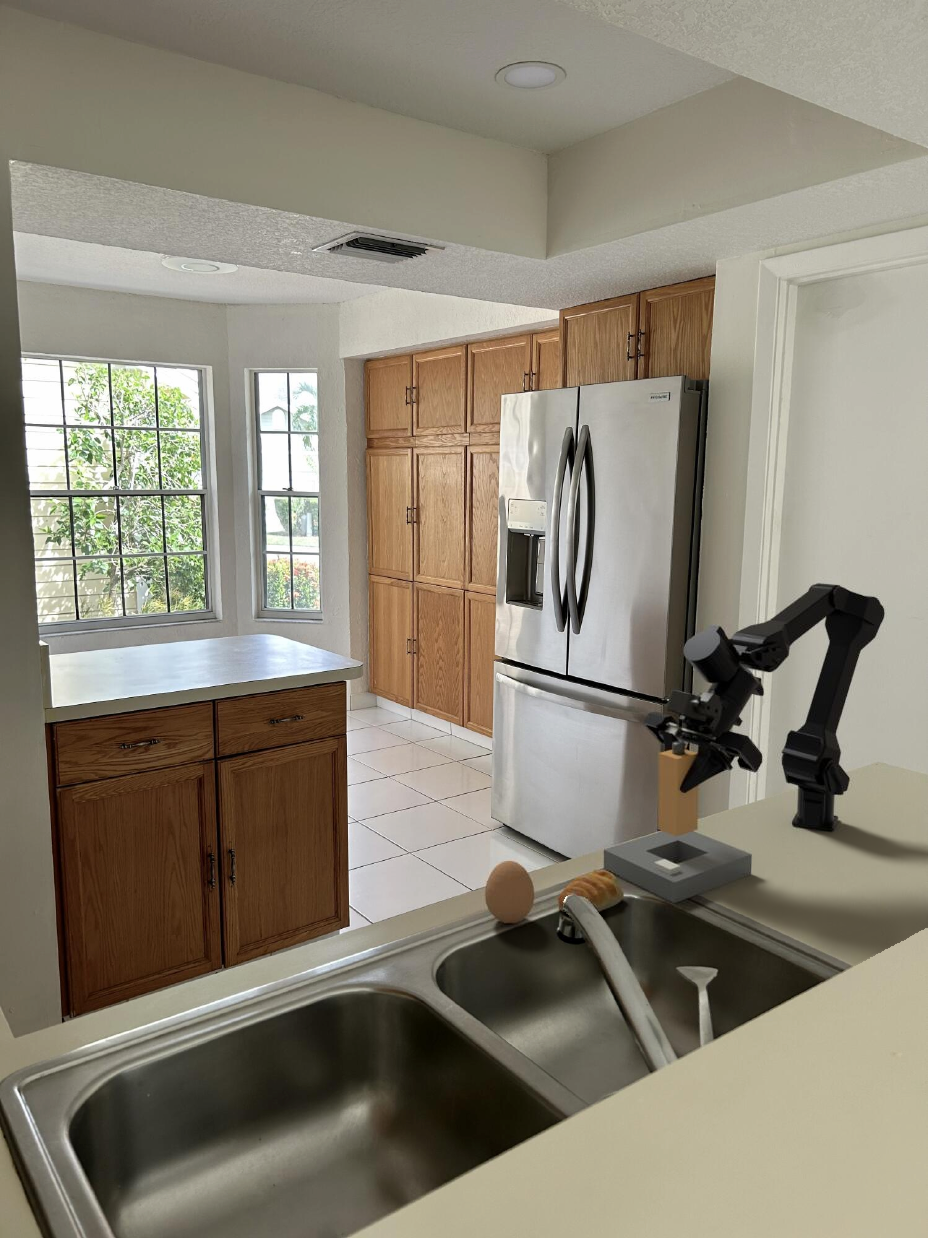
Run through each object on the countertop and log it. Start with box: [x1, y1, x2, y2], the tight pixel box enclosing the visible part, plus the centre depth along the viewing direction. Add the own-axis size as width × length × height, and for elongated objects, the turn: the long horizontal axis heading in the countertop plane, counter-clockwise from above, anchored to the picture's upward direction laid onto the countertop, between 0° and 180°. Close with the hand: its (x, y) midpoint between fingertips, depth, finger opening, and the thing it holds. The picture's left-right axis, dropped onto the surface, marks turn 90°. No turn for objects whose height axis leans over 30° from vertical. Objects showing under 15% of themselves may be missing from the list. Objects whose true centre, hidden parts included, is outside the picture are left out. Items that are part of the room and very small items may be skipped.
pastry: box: [557, 869, 625, 913], centre depth 124 cm, size 9×7×4 cm
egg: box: [484, 860, 535, 924], centre depth 119 cm, size 6×6×8 cm
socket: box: [603, 830, 753, 904], centre depth 133 cm, size 16×14×4 cm
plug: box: [657, 741, 699, 836], centre depth 132 cm, size 4×4×13 cm
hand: (671, 787), depth 131 cm, fingers closed on plug, 4 cm apart
